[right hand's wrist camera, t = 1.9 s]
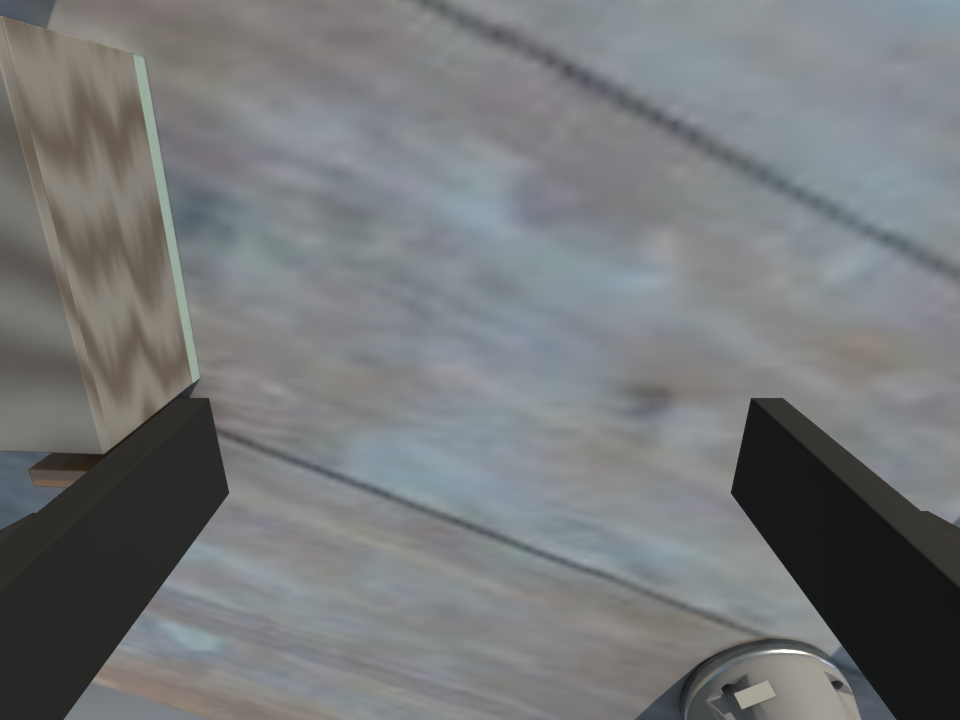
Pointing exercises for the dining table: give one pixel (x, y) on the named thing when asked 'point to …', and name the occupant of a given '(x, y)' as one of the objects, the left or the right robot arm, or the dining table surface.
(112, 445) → the cabinet
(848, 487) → the right robot arm
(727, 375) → the dining table surface
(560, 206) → the dining table surface
